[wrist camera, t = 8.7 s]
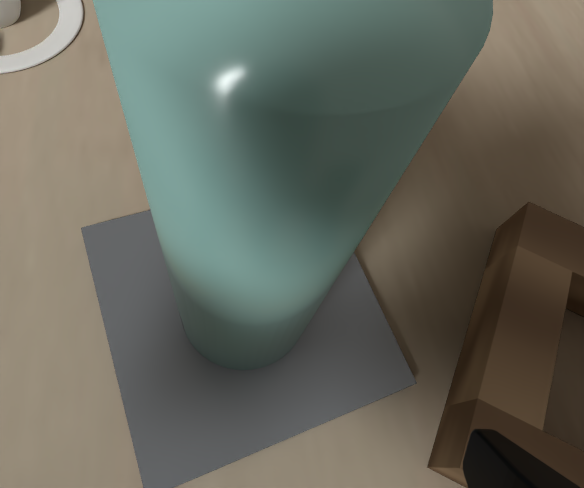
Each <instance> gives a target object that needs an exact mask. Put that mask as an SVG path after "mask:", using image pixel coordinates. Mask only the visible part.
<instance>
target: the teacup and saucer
mask: <svg viewBox="0 0 584 488" xmlns="http://www.w3.org/2000/svg"><path fill="white" fill-rule="evenodd" d="M56 1H57V4H58V6H59V13H60V14H59V21H58V24H57V26H56V28H55V29H54V31H53V32H52V33H51V34H50V36H49V37H47V38H46V39H45V40H44V41H43V42H41V43H40V44H38V45H36V46H34V47H33V48H30V49H28V50H26V51H23V52H20V53H16V54H12V55H6V56H0V74H1V73H9V72H15V71H19V70H23V69H27V68H30V67H33V66H36V65H38V64H41V63H43V62H45V61H47V60H49V59H51V58H52V57H54V56H56V55H57V54H59V53H60V52H61V51H63V50H64V49H65V48H66V47H67V46H68V45H69V44H70V43H71V42H72V41H73V39H74V38H75V37H76V35H77V34H78V32H79V30H80V28H81V25H82V21H83V5H82V2H81V0H56ZM20 12H21V1H20V0H0V28H4V27H7V26H10V25H12V24H13V23H15V22H16V21H17V20H18V18H19V16H20Z"/></svg>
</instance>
